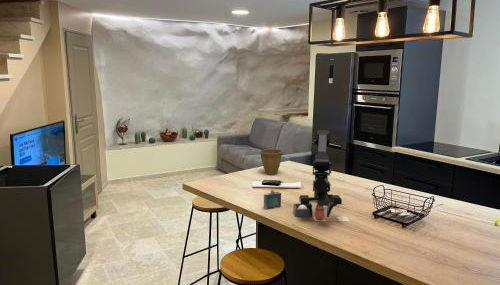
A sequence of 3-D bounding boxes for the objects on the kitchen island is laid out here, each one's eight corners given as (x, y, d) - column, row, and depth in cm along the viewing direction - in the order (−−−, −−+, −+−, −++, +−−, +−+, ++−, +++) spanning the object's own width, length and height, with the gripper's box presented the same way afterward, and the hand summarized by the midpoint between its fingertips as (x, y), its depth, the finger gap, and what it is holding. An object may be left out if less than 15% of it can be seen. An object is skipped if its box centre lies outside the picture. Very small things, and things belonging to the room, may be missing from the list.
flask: (264, 212, 186) (264, 191, 184) (262, 210, 188) (262, 189, 187) (281, 210, 189) (282, 189, 187) (279, 208, 191) (279, 188, 189)
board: (290, 213, 184) (291, 210, 184) (343, 213, 185) (343, 210, 184) (294, 224, 170) (294, 221, 170) (351, 224, 171) (351, 221, 171)
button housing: (293, 211, 184) (293, 203, 183) (309, 211, 184) (309, 203, 183) (295, 217, 176) (295, 209, 175) (312, 217, 176) (312, 209, 175)
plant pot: (271, 169, 266) (271, 148, 263) (286, 174, 254) (286, 151, 251) (255, 173, 256) (255, 150, 253) (270, 178, 245) (270, 154, 242)
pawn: (314, 217, 175) (314, 202, 174) (323, 217, 175) (323, 202, 174) (315, 220, 171) (316, 205, 170) (324, 220, 171) (324, 205, 170)
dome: (295, 211, 182) (296, 203, 181) (307, 211, 182) (307, 203, 182) (297, 216, 177) (297, 207, 176) (309, 215, 177) (309, 207, 176)
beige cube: (320, 211, 184) (321, 203, 183) (328, 210, 184) (328, 202, 184) (323, 214, 180) (324, 206, 179) (331, 213, 180) (331, 205, 180)
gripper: (303, 190, 162) (302, 224, 165) (345, 190, 162) (344, 224, 165) (299, 183, 173) (298, 214, 176) (339, 183, 173) (337, 214, 176)
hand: (319, 217), depth 173 cm, fingers open, 7 cm apart
